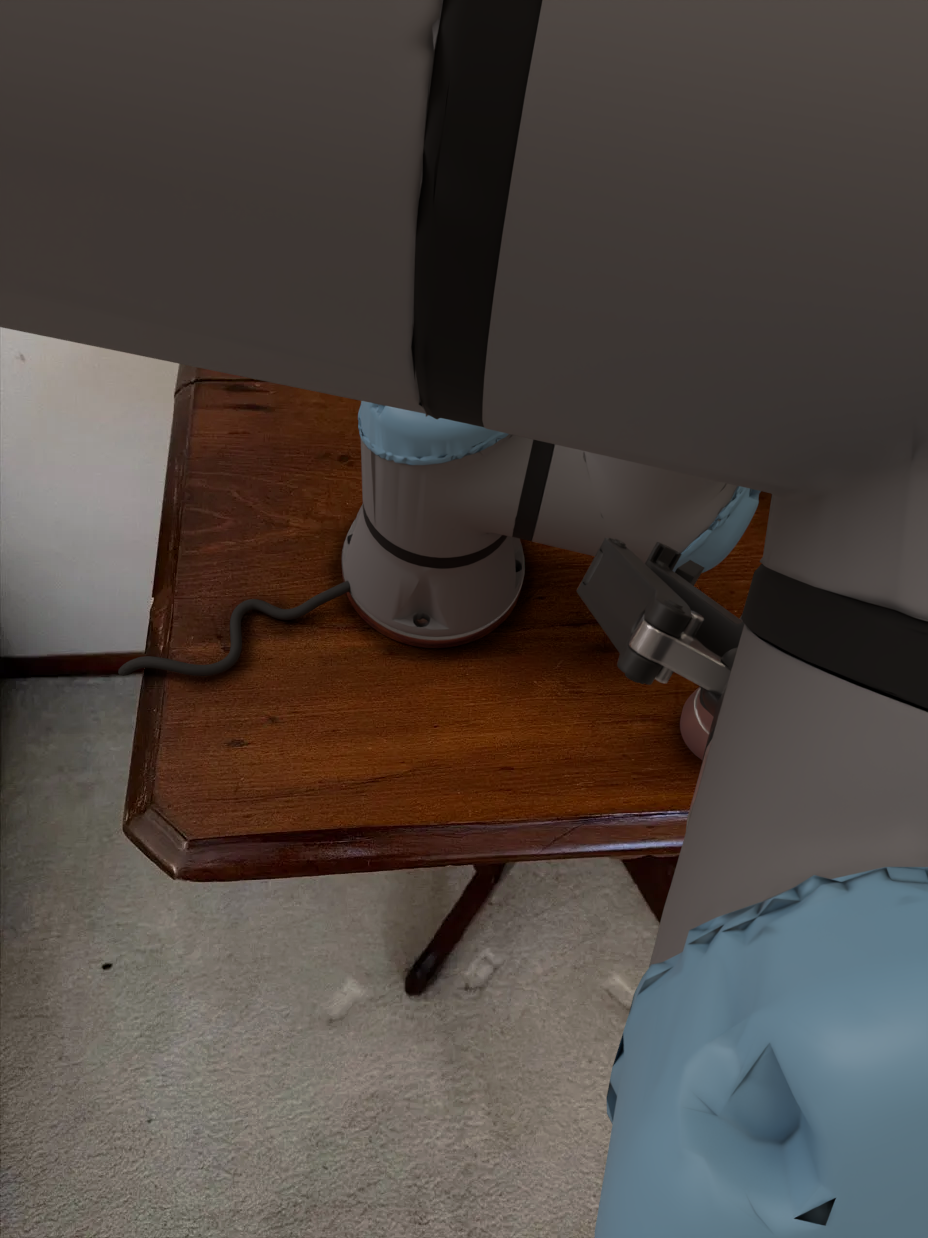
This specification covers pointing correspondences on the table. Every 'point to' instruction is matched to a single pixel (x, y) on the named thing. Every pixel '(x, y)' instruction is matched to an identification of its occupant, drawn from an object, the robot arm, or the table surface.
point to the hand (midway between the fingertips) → (816, 661)
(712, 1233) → the robot arm
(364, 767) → the table surface
